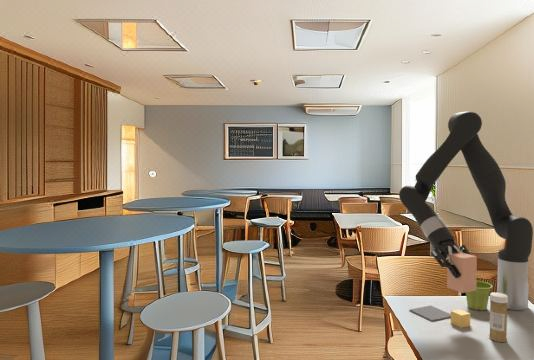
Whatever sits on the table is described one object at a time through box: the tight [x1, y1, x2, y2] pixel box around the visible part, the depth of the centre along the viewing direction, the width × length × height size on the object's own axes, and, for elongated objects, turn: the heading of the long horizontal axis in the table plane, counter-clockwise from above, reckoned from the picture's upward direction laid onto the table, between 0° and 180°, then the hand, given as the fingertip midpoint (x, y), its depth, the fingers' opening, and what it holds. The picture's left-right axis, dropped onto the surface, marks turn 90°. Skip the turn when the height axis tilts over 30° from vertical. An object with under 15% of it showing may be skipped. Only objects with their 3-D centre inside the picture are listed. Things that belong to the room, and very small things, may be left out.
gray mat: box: [409, 304, 451, 322], centre depth 131 cm, size 10×10×1 cm
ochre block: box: [450, 308, 471, 328], centre depth 123 cm, size 4×4×4 cm
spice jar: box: [488, 291, 508, 343], centre depth 112 cm, size 5×5×13 cm
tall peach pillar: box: [446, 253, 478, 294], centre depth 122 cm, size 6×6×11 cm
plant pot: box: [465, 280, 493, 311], centre depth 137 cm, size 9×9×9 cm
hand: (466, 275), depth 121 cm, fingers closed on tall peach pillar, 6 cm apart
